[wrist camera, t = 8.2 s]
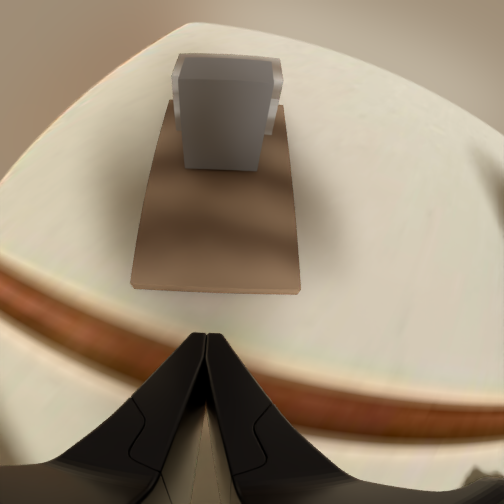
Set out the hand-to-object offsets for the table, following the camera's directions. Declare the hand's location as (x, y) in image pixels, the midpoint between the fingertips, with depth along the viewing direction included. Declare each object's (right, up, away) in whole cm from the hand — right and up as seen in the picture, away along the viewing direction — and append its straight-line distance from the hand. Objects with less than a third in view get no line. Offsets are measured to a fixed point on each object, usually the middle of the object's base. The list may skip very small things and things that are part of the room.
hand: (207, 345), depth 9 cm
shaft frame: (-1, +9, +18) cm, 20 cm away
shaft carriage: (-1, +15, +19) cm, 25 cm away
